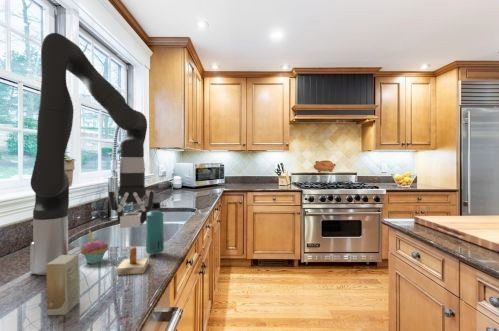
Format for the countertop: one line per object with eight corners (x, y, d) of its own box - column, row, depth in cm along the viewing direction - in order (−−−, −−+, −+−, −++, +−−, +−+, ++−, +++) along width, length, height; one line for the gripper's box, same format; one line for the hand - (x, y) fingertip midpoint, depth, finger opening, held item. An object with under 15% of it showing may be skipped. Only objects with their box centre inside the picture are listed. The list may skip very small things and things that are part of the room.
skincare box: (61, 302, 71) (61, 254, 71) (79, 301, 71) (79, 253, 71) (45, 316, 65) (45, 263, 64) (65, 315, 65) (65, 263, 65)
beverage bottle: (158, 258, 102) (158, 203, 102) (141, 257, 104) (141, 203, 103) (167, 252, 109) (167, 201, 108) (151, 251, 110) (151, 200, 110)
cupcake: (93, 267, 94) (92, 231, 94) (74, 263, 97) (74, 229, 97) (113, 258, 102) (113, 225, 102) (96, 255, 105) (95, 223, 105)
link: (120, 227, 88) (120, 216, 88) (125, 223, 94) (125, 212, 94) (140, 226, 89) (140, 216, 89) (143, 222, 95) (143, 212, 95)
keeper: (116, 274, 88) (116, 252, 88) (123, 265, 96) (123, 244, 96) (143, 273, 89) (143, 251, 89) (147, 263, 97) (147, 243, 97)
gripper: (104, 171, 87) (105, 226, 87) (153, 171, 89) (153, 224, 89) (112, 170, 94) (112, 220, 94) (157, 170, 96) (157, 219, 97)
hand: (132, 222), depth 92 cm, fingers closed on link, 6 cm apart
